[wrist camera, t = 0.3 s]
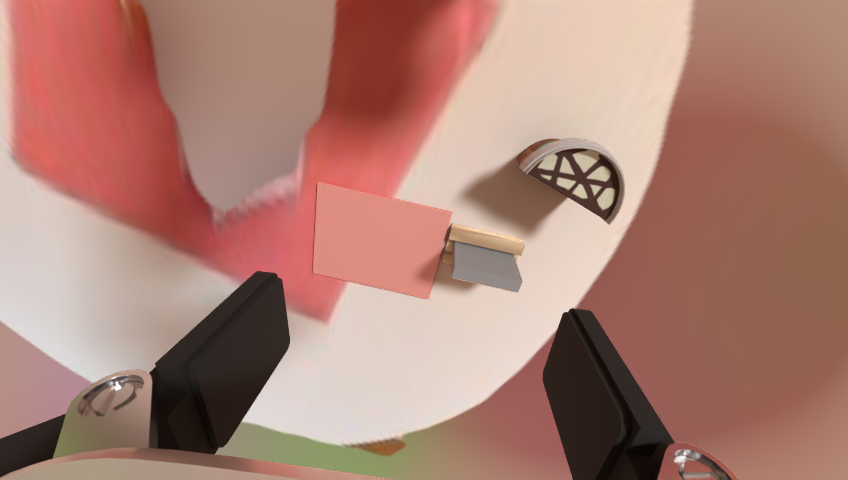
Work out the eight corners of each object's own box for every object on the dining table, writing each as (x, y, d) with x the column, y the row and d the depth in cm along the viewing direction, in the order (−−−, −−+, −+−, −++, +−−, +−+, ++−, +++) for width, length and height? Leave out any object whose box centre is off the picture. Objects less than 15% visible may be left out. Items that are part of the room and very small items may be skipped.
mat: (318, 181, 46) (317, 182, 46) (451, 211, 46) (451, 213, 46) (313, 271, 53) (312, 273, 53) (428, 297, 54) (428, 299, 53)
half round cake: (614, 159, 41) (658, 180, 32) (581, 198, 44) (613, 227, 35) (537, 109, 39) (561, 117, 31) (507, 153, 42) (521, 171, 33)
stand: (452, 223, 47) (452, 227, 46) (523, 239, 47) (525, 244, 46) (442, 259, 50) (441, 264, 49) (509, 274, 50) (511, 280, 49)
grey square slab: (454, 238, 48) (454, 266, 41) (512, 252, 48) (522, 281, 41) (451, 250, 49) (451, 278, 42) (508, 262, 49) (517, 293, 42)
